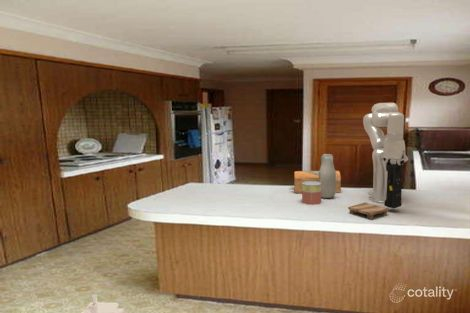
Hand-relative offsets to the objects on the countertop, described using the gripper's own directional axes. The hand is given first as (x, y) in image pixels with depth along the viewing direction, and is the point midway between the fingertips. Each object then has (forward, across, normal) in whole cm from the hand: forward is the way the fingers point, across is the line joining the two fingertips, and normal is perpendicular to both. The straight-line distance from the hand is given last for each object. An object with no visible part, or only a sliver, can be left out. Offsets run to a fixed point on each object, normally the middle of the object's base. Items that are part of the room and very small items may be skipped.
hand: (393, 171), depth 176 cm
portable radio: (+20, 0, 0) cm, 20 cm away
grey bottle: (+23, -40, -7) cm, 46 cm away
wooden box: (+23, -58, +2) cm, 62 cm away
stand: (+22, -4, -15) cm, 27 cm away
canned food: (+22, -38, -22) cm, 49 cm away
